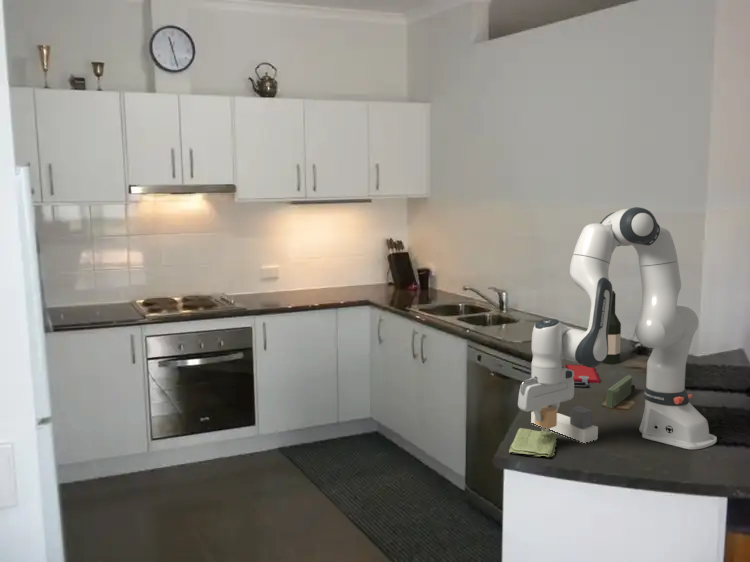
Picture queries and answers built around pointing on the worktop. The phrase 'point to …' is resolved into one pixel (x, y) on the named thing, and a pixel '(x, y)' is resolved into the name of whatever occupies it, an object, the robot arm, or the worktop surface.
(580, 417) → the block
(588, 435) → the power strip
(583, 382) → the red board with handle
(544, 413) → the orange charger
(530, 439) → the washcloth
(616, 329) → the wine bottle
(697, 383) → the worktop surface
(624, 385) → the handheld radio
